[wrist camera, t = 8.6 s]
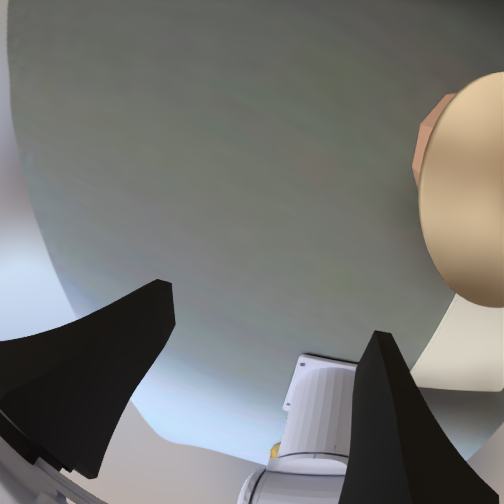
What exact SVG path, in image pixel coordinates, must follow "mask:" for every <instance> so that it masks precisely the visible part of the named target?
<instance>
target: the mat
mask: <svg viewBox="0 0 504 504" xmlns="http://www.w3.org/2000/svg"><path fill="white" fill-rule="evenodd" d="M410 373H411V375H412V377H413V379H414V381H415V383H416V385H417V387H425V388H436V389H449V390H466V391H501V390H502V389H503V388H504V308H489V307H484V306H479V305H476V304H474V303H471V302H469V301H467V300H466V299H464V298H462V297H461V296H459V295H458V294H457V293H456V295H455V297H454V299H453V301H452V302H451V304H450V306H449V308H448V310H447V312H446V314H445V316H444V317H443V319H442V321H441V323H440V325H439V326H438V328H437V330H436V332H435V333H434V335H433V337H432V338H431V340H430V342H429V343H428V345H427V347H426V348H425V350H424V351H423V353H422V355H421V356H420V358H419V359H418V361H417V362H416V364H415V365H414V367H413V368H412V370H411V371H410Z"/></svg>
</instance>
